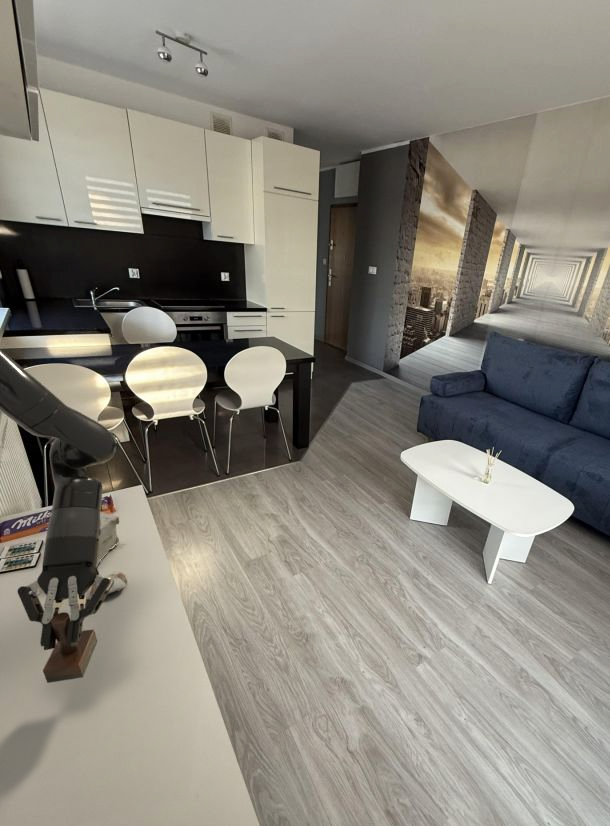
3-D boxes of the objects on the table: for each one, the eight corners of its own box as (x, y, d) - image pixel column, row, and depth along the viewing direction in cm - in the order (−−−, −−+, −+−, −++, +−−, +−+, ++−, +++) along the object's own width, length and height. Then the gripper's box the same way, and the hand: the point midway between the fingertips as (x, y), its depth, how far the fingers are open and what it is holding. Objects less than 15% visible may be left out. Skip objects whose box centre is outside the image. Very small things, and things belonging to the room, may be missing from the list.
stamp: (47, 683, 63) (30, 639, 59) (65, 645, 69) (51, 603, 65) (82, 677, 64) (69, 634, 60) (97, 641, 70) (85, 599, 66)
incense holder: (99, 570, 96) (91, 535, 92) (67, 565, 97) (57, 531, 92) (125, 545, 105) (119, 512, 101) (96, 541, 106) (88, 508, 101)
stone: (80, 609, 86) (78, 600, 84) (76, 588, 91) (73, 579, 89) (130, 591, 91) (128, 582, 90) (123, 572, 96) (122, 563, 95)
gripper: (13, 537, 63) (-7, 658, 57) (111, 530, 66) (101, 643, 61) (37, 543, 70) (21, 651, 64) (125, 536, 73) (117, 638, 68)
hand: (60, 647), depth 63 cm, fingers closed on stamp, 2 cm apart
